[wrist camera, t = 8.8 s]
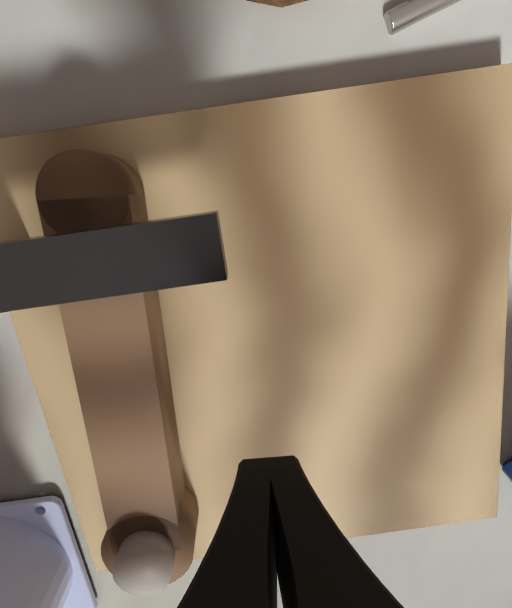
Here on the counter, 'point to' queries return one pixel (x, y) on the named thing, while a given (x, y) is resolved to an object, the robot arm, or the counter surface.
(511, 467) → the medicine box
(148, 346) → the link
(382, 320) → the oak board
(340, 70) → the counter surface
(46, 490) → the counter surface
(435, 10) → the chopping board
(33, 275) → the bar
